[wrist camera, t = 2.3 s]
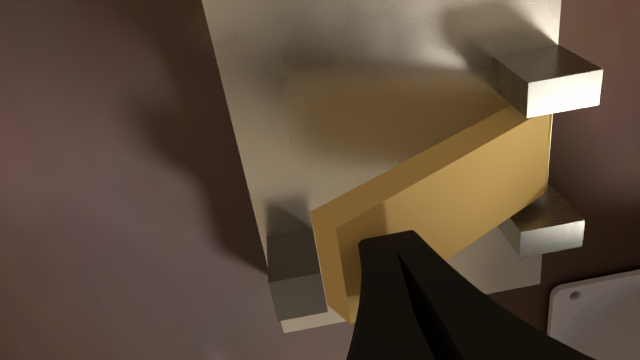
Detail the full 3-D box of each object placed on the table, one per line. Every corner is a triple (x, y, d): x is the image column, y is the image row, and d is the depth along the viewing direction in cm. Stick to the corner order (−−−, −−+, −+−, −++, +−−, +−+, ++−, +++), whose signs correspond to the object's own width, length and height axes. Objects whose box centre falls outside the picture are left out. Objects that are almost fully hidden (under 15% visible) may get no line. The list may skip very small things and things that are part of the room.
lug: (312, 228, 18) (320, 272, 16) (319, 265, 19) (328, 311, 17) (266, 236, 18) (268, 282, 16) (274, 273, 19) (278, 321, 17)
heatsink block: (519, -94, 17) (621, -82, 12) (507, 238, 24) (571, 328, 19) (204, -40, 17) (186, -6, 12) (280, 281, 23) (287, 384, 19)
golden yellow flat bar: (530, 94, 17) (560, 101, 16) (526, 177, 18) (553, 188, 18) (310, 211, 13) (335, 228, 12) (327, 305, 14) (351, 324, 14)
